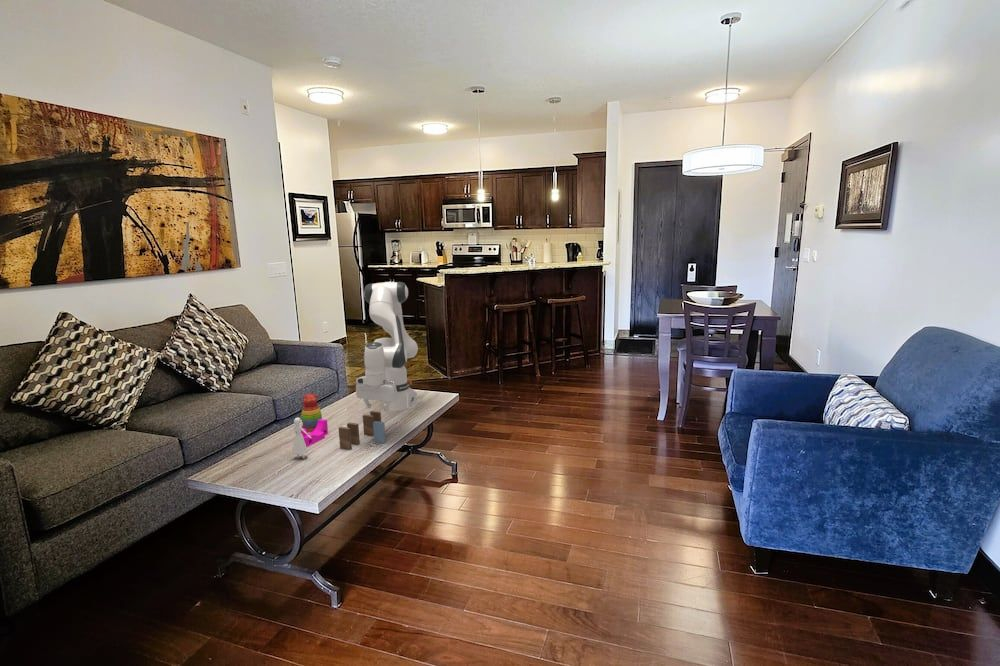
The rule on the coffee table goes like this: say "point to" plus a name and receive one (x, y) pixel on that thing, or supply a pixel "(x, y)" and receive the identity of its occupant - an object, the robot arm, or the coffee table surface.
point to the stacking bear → (310, 412)
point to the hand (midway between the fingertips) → (377, 409)
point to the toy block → (316, 433)
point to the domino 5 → (379, 432)
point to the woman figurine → (299, 439)
